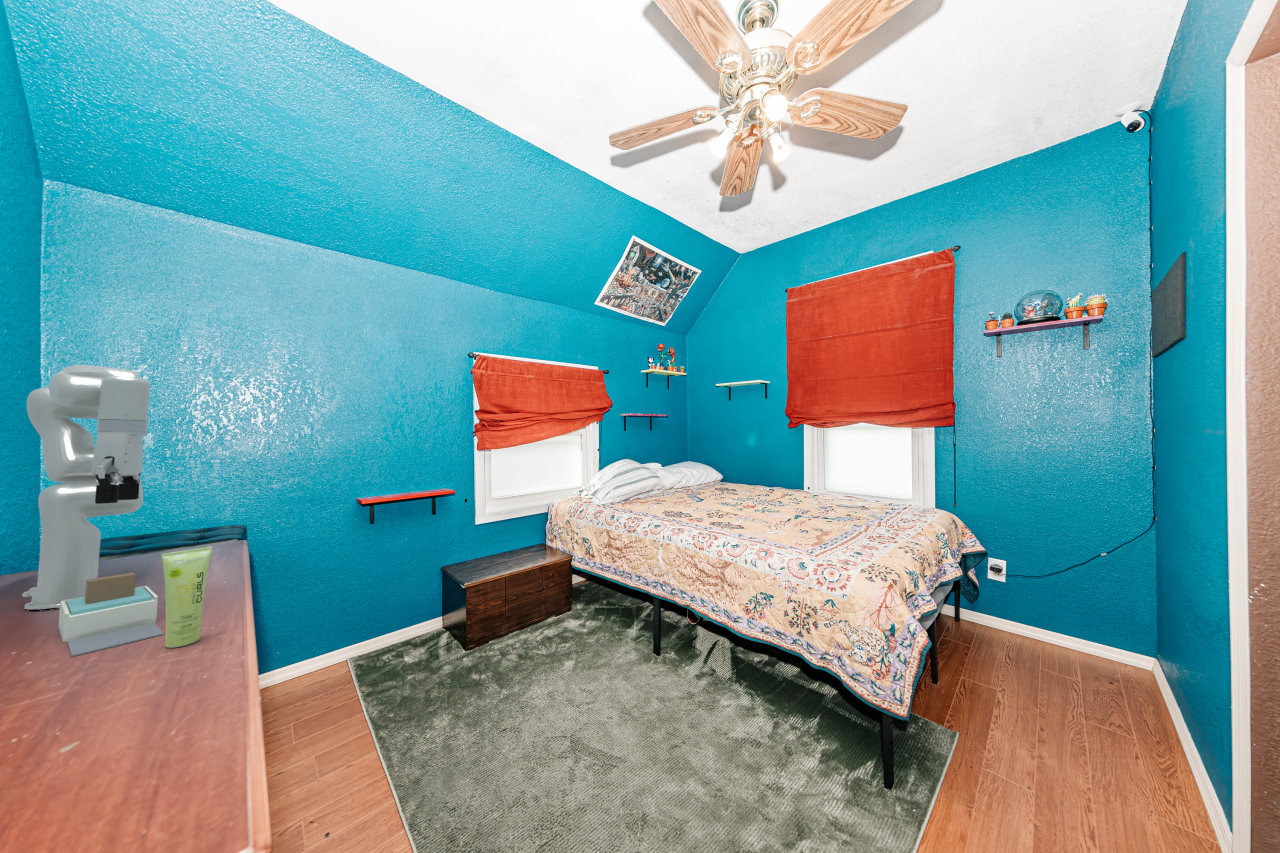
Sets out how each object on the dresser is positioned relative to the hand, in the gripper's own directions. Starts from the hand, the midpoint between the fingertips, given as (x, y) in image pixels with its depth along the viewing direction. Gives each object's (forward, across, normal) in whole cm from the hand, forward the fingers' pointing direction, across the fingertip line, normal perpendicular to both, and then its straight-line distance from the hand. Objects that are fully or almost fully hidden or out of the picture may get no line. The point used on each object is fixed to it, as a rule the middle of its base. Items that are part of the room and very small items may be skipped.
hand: (117, 501), depth 98 cm
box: (+28, -2, -1) cm, 29 cm away
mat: (+29, +10, +5) cm, 31 cm away
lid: (+24, -2, -1) cm, 24 cm away
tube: (+29, +21, +17) cm, 40 cm away
